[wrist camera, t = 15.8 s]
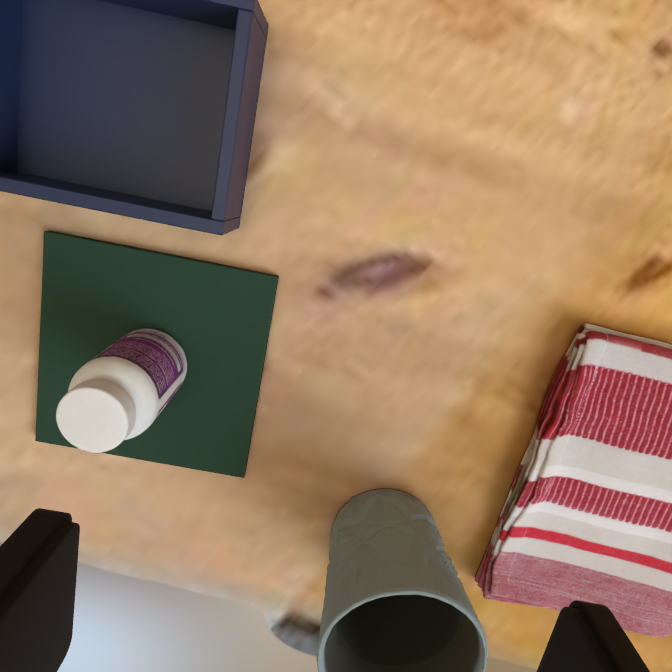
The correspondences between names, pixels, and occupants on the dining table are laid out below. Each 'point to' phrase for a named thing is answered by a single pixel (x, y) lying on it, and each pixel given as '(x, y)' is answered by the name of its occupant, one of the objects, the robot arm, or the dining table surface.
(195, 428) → the mat
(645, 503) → the dish towel
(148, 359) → the pill bottle
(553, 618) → the dining table surface
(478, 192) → the dining table surface
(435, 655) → the gray cup
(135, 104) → the basket
